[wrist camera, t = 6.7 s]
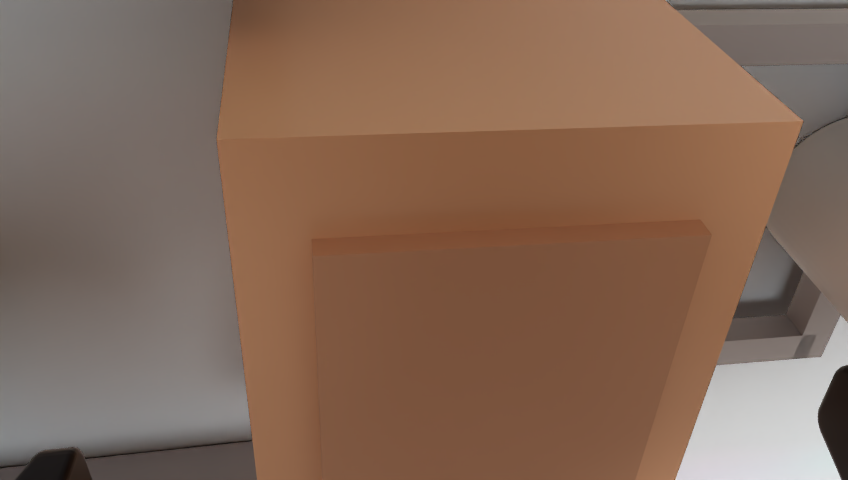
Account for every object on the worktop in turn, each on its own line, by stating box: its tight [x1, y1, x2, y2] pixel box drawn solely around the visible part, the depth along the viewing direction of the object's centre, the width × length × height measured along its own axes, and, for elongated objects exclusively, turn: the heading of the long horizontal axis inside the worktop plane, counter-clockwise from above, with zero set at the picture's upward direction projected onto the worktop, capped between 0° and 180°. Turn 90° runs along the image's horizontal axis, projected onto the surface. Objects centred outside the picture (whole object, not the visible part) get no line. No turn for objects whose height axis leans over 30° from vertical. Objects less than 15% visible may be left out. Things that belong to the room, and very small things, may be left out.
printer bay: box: [0, 441, 257, 480], centre depth 11 cm, size 8×12×3 cm, turn 179°
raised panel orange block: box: [216, 0, 848, 480], centre depth 11 cm, size 8×11×6 cm
